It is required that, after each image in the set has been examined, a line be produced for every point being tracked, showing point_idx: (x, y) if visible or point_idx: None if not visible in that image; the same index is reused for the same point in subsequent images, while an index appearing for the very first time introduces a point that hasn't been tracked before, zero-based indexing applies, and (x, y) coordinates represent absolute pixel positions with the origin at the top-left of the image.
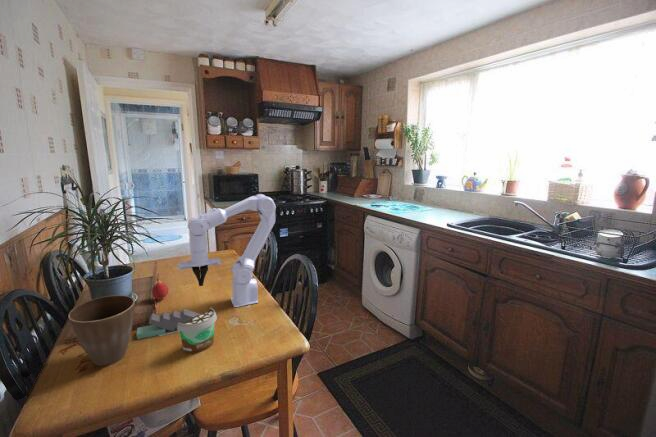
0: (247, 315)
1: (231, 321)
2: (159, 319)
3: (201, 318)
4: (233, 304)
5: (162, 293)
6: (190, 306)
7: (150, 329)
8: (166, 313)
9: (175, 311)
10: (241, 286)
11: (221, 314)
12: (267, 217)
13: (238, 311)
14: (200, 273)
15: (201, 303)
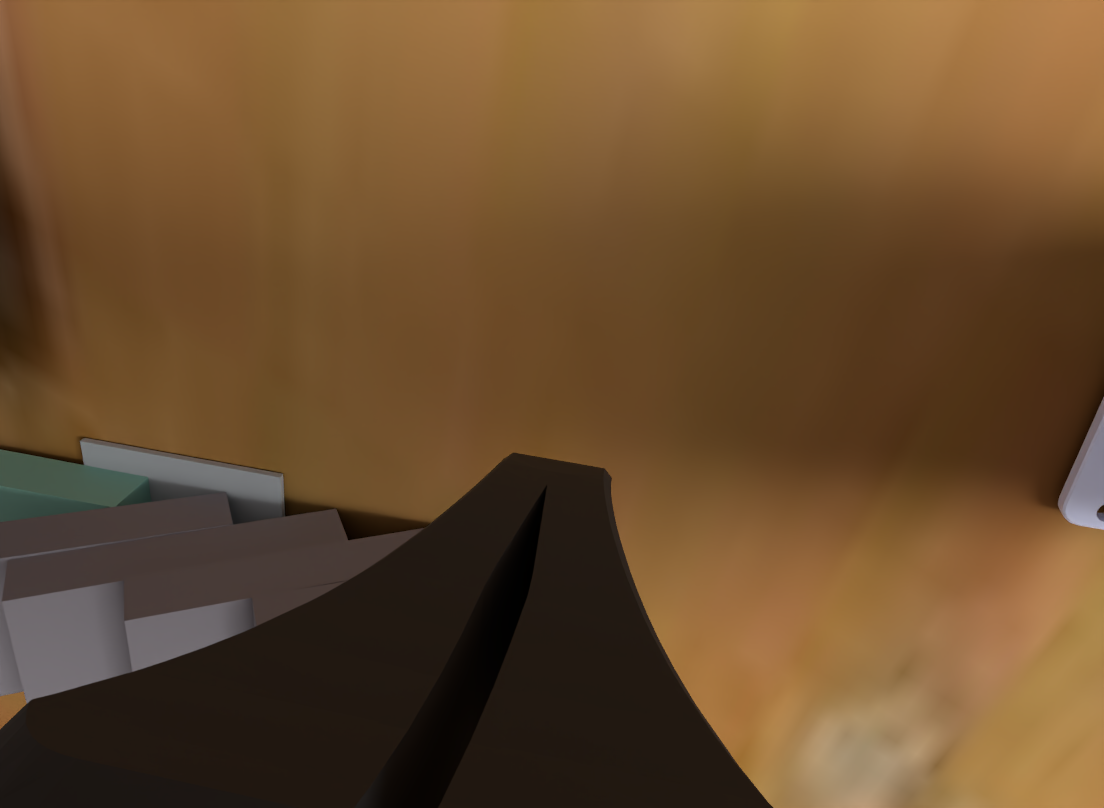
0: (1068, 753)
1: (831, 752)
2: (9, 647)
3: None
4: (1089, 456)
5: None
6: (469, 65)
7: None
8: (56, 608)
9: (162, 630)
10: None
11: (802, 563)
12: None
13: (1036, 617)
14: (517, 628)
15: (662, 47)
